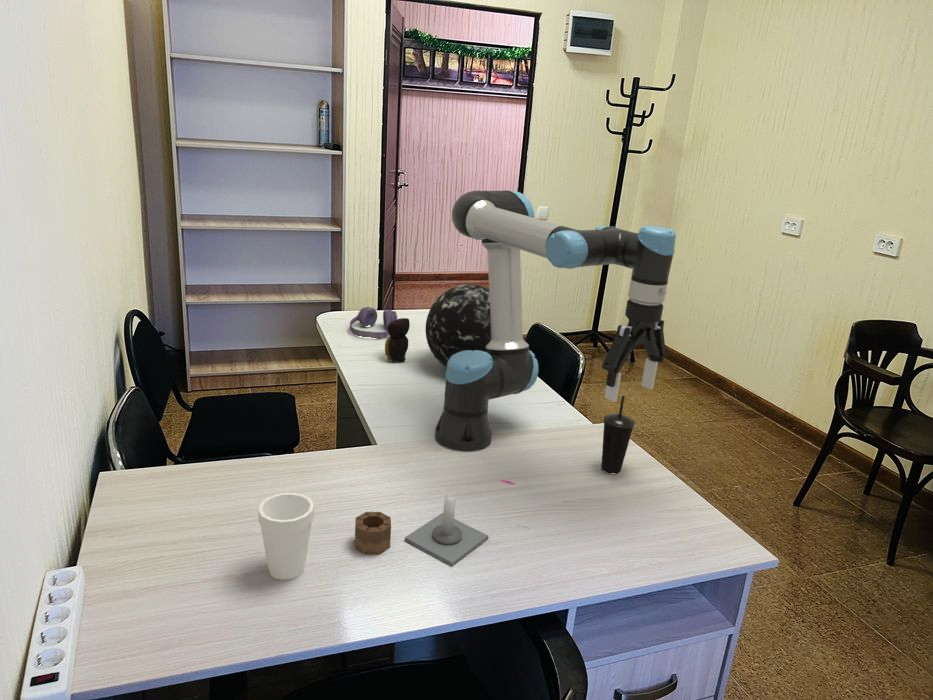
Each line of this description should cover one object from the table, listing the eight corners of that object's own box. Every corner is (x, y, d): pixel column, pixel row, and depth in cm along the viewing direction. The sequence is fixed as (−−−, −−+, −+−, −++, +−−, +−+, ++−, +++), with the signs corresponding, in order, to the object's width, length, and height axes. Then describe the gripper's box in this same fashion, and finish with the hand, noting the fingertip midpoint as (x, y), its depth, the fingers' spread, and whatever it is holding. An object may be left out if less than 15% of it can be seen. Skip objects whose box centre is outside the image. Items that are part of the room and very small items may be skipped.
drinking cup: (626, 479, 163) (640, 404, 157) (595, 474, 165) (607, 399, 158) (626, 465, 170) (638, 393, 164) (596, 460, 172) (607, 388, 165)
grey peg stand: (404, 540, 132) (406, 498, 129) (442, 516, 142) (445, 476, 138) (452, 566, 126) (455, 522, 123) (488, 538, 135) (492, 497, 132)
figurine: (395, 354, 237) (397, 314, 232) (412, 359, 234) (414, 318, 229) (379, 361, 229) (381, 320, 224) (396, 366, 226) (398, 324, 221)
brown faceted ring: (347, 544, 130) (348, 522, 128) (372, 529, 135) (372, 508, 133) (372, 558, 126) (373, 536, 124) (396, 543, 131) (398, 521, 130)
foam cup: (266, 552, 125) (265, 492, 121) (316, 553, 126) (316, 493, 122) (255, 585, 116) (253, 521, 112) (309, 586, 117) (309, 522, 113)
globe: (466, 351, 246) (473, 272, 237) (527, 376, 227) (536, 290, 217) (405, 366, 226) (409, 280, 217) (465, 394, 207) (473, 301, 197)
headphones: (359, 320, 271) (343, 342, 254) (359, 302, 267) (342, 322, 250) (403, 326, 269) (389, 348, 251) (403, 307, 265) (389, 328, 248)
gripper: (624, 312, 130) (608, 411, 137) (693, 299, 146) (674, 388, 153) (594, 302, 135) (579, 398, 142) (663, 291, 151) (647, 377, 158)
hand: (629, 393), depth 147 cm, fingers open, 13 cm apart
